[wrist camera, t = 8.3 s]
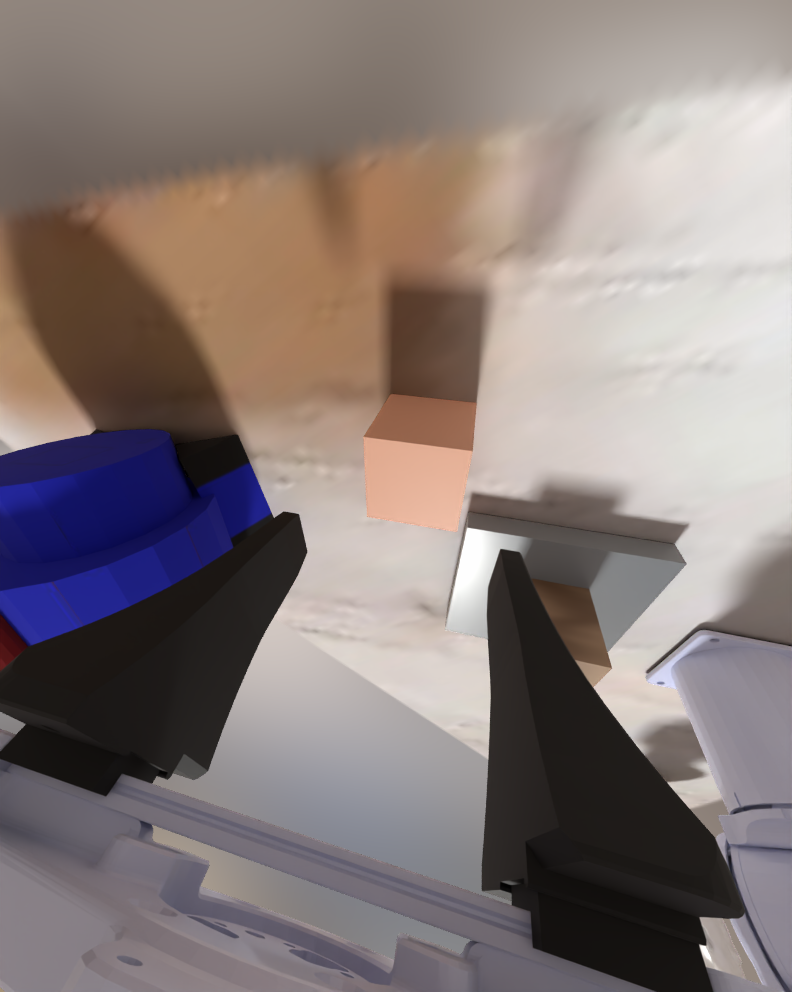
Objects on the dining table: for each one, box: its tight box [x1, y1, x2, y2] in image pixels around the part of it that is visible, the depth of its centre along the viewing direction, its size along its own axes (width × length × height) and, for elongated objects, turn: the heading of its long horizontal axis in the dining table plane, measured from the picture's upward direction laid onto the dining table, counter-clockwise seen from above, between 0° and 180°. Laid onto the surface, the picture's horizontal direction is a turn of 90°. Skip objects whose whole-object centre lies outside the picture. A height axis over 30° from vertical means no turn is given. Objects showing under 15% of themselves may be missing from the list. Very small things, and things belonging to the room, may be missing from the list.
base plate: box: [445, 512, 686, 652], centre depth 23 cm, size 12×12×2 cm
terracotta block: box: [363, 394, 476, 532], centre depth 16 cm, size 4×4×5 cm
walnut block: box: [531, 578, 612, 687], centre depth 21 cm, size 4×4×5 cm
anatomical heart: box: [699, 917, 745, 979], centre depth 34 cm, size 10×11×15 cm
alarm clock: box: [0, 429, 274, 671], centre depth 19 cm, size 12×12×15 cm
